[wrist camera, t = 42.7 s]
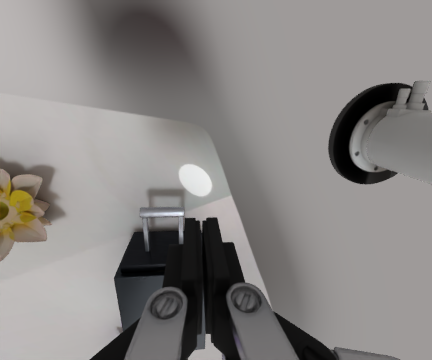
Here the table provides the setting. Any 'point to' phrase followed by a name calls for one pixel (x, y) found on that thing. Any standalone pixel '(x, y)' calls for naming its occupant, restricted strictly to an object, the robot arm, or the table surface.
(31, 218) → the decorative flower
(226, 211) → the table surface
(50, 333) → the table surface
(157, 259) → the drawer with silver handle
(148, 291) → the cabinet
